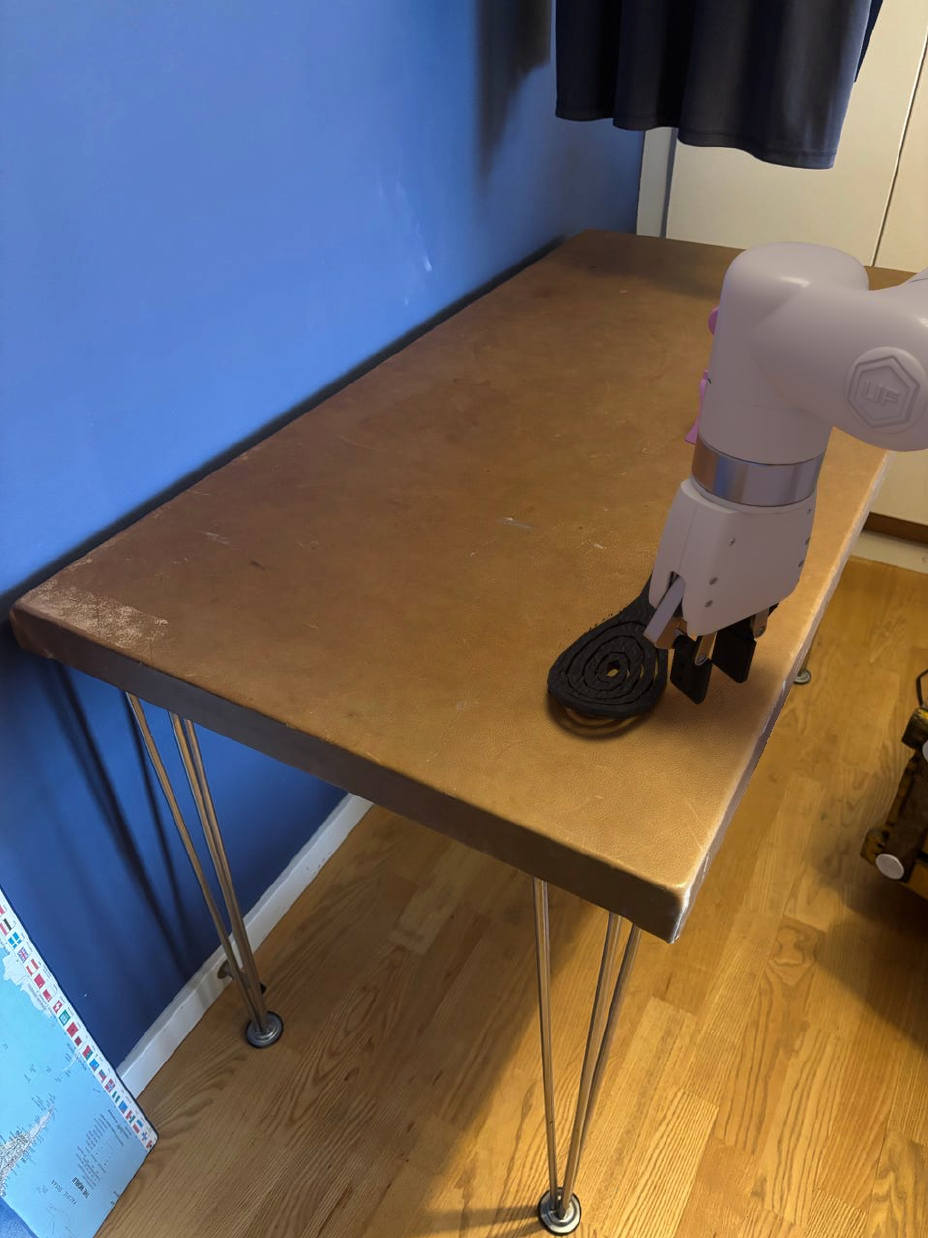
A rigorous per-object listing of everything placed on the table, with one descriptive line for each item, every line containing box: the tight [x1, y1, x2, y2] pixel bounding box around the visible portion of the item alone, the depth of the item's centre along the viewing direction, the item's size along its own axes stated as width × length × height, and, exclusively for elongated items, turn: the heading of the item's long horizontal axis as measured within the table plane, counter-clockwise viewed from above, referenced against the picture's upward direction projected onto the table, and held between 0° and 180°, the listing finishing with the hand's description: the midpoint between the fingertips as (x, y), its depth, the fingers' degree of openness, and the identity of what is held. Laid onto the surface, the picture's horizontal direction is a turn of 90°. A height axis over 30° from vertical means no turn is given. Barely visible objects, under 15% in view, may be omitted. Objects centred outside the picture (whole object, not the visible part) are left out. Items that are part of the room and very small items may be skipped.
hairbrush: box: [546, 566, 670, 721], centre depth 73 cm, size 8×4×25 cm
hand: (707, 680), depth 67 cm, fingers open, 3 cm apart
